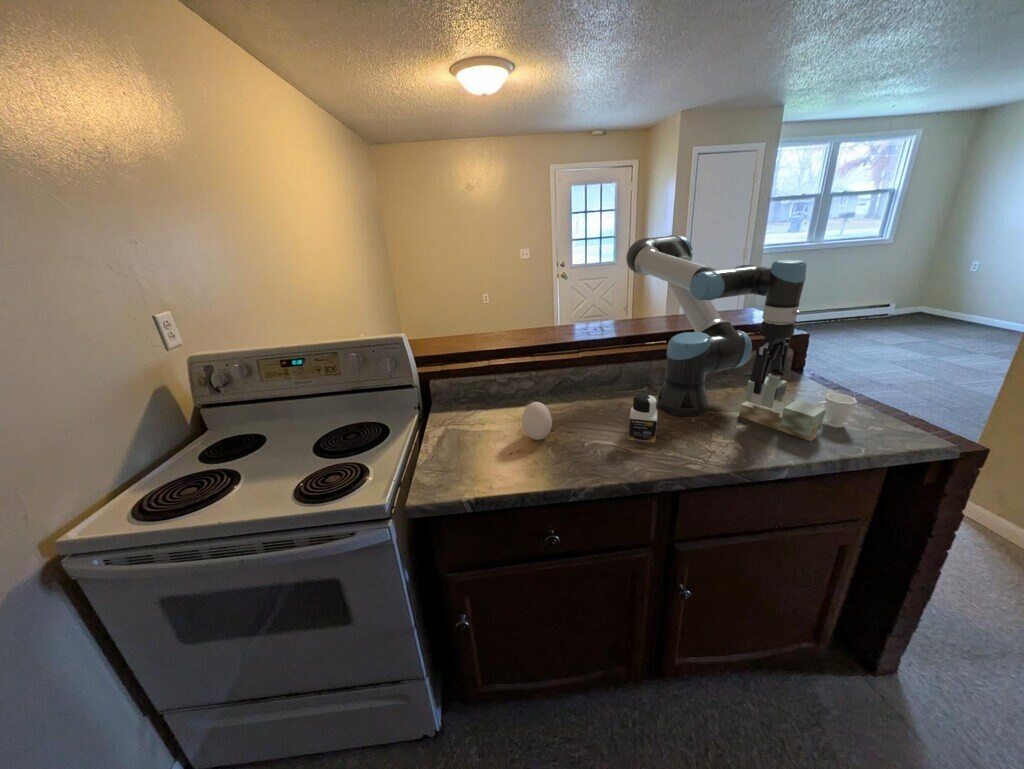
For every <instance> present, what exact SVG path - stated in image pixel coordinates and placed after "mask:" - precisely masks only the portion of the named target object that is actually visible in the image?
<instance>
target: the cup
mask: <svg viewBox="0 0 1024 769" xmlns="http://www.w3.org/2000/svg"><path fill="white" fill-rule="evenodd" d="M824 397H825V398H824V400H823V401H819V402H817V403H816V404H815V406H818V407H821V405H824V408H825V409H826V411H825V415H824V419H825V420H824V419H823V422H822V425H825V426H826V425H827V426H829V427H832V428H842V427H844V426H845V425H844V424H845V423H846V422H847V420H848V419H849V418H850V416H851V414H852V413H853V410H854V408H855V406H856V405H857V403H858V400H856V398H855V397H853V396H850V395H847V394H845V393H844V394H843V393H834V392H831V393H828V394H825V396H824Z"/></svg>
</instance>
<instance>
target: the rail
mask: <svg viewBox="0 0 1024 769" xmlns="http://www.w3.org/2000/svg"><path fill="white" fill-rule="evenodd" d="M815 405H816V404H815ZM815 405H814V404H811V403H807V402H804V401H801V400H797V399H796V400H794V401H793V402H791V403H789V404H788V405H786V406H784V408H783V411H782V412H781V411H779V410H775V409H773V408H769V407H766V406H762V405H758V404H755V403H751V402H749V401H746V400H745V402H743V403H741V404H740V407H739V414H738V417H739V418H742V419H746V420H749V421H752V422H755V423H757V424H760V425H763V426H766V427H769V428H772V429H774V430H777V431H781V432H783V433H786V434H789V435H791V436H795V437H797V438H800V439H803V440H806V441H809V442H812V441H813V440H814V439H815V438H816V437H817V434H818V431H819V430H821V429H822V425H823V424H822V422H824V419H825V411H826V409H825V407H822V406H819V407H818V406H815Z"/></svg>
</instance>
